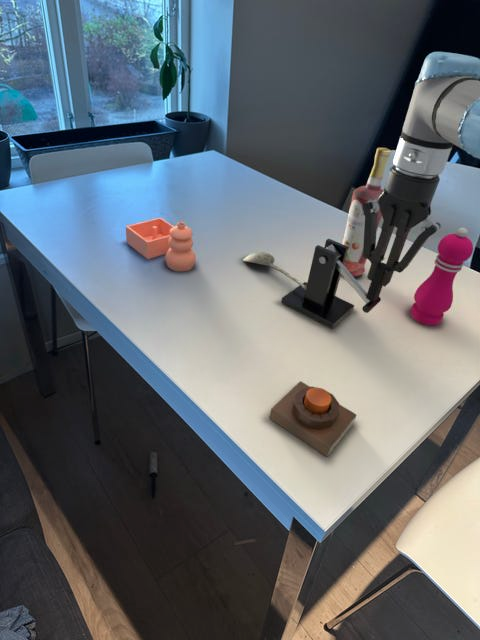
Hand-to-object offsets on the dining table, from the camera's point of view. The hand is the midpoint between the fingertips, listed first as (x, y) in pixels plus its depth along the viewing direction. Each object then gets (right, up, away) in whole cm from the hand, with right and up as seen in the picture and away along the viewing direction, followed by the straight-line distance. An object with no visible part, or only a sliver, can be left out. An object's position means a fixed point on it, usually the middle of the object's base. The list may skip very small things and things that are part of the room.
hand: (372, 296), depth 83 cm
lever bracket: (-9, -2, +9) cm, 13 cm away
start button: (-13, -17, -18) cm, 28 cm away
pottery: (-42, +11, +20) cm, 47 cm away
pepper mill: (+14, -4, +10) cm, 18 cm away
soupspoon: (-16, +5, +15) cm, 23 cm away
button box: (-14, -19, -16) cm, 29 cm away
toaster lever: (-4, +3, +2) cm, 6 cm away
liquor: (+1, +7, +22) cm, 23 cm away
